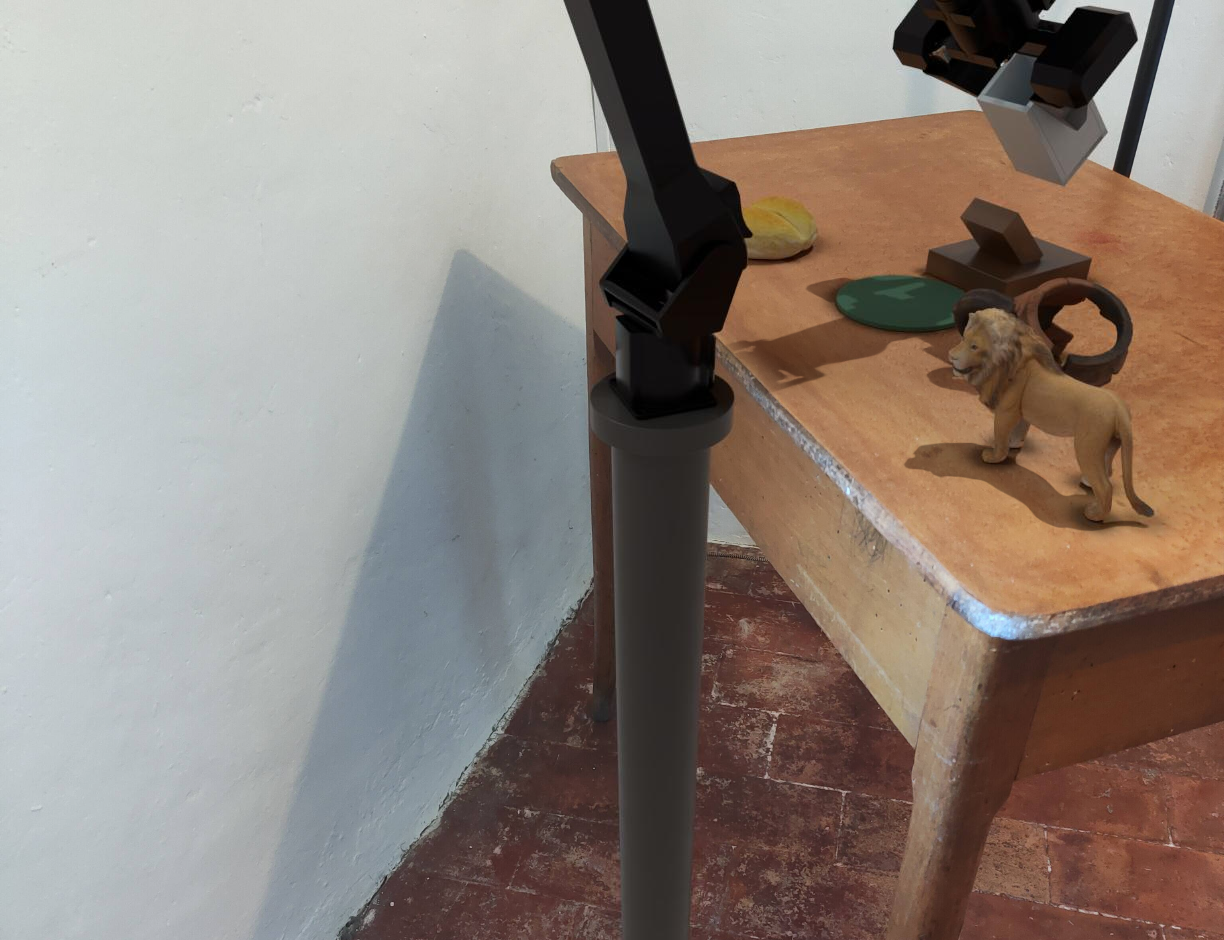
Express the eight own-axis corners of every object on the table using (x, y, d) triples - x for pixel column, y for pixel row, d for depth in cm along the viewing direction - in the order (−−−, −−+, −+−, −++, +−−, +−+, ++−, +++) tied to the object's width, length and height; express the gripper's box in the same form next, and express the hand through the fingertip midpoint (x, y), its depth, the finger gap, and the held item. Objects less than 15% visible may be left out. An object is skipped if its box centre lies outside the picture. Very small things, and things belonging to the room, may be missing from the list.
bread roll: (701, 247, 99) (702, 203, 96) (764, 224, 104) (767, 182, 101) (769, 270, 94) (772, 224, 92) (832, 245, 99) (836, 201, 96)
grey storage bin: (1018, 203, 83) (1050, 61, 77) (950, 179, 88) (975, 44, 82) (1106, 183, 87) (1143, 46, 80) (1037, 161, 92) (1066, 31, 86)
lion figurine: (918, 444, 70) (942, 312, 64) (968, 418, 72) (995, 289, 67) (1127, 540, 60) (1176, 396, 55) (1175, 507, 63) (1226, 366, 57)
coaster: (880, 340, 82) (881, 336, 82) (812, 290, 90) (812, 286, 90) (1000, 319, 85) (1001, 314, 85) (924, 272, 93) (924, 267, 93)
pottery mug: (1098, 359, 80) (1157, 288, 72) (1071, 460, 76) (1131, 397, 69) (946, 304, 81) (989, 229, 73) (913, 402, 77) (954, 333, 70)
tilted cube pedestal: (1001, 305, 87) (1019, 225, 83) (924, 271, 93) (937, 195, 89) (1086, 281, 91) (1107, 202, 87) (1007, 250, 97) (1023, 175, 93)
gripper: (1163, -134, 65) (1218, 46, 76) (946, -146, 78) (1021, 9, 89) (1041, 24, 67) (1113, 177, 78) (849, -13, 80) (934, 123, 91)
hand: (1043, 115), depth 84 cm, fingers closed on grey storage bin, 7 cm apart
